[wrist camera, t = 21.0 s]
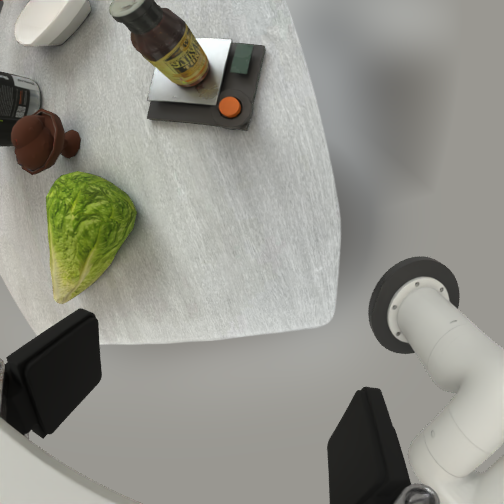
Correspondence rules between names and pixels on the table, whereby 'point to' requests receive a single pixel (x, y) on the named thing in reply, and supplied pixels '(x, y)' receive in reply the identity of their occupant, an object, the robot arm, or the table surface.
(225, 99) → the power button
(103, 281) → the table surface
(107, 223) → the lettuce
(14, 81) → the supplement tub
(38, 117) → the ice cream bowl
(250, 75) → the scale
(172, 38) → the sauce bottle
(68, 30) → the bowl
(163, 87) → the scale top
